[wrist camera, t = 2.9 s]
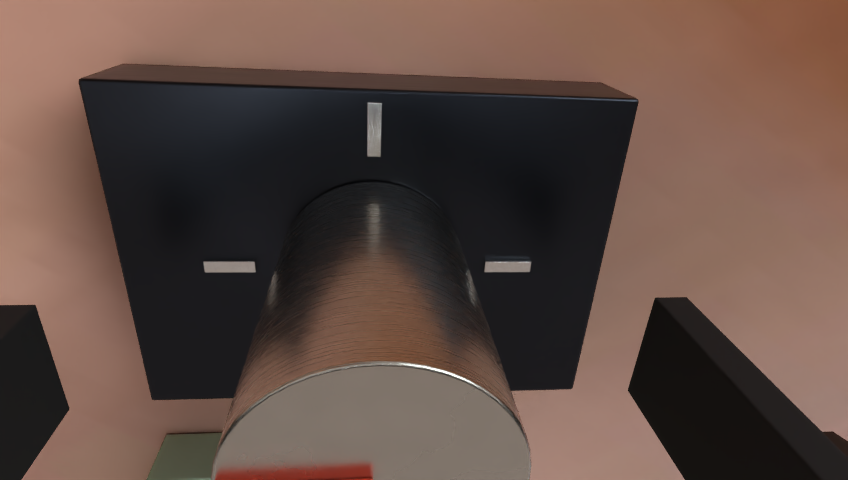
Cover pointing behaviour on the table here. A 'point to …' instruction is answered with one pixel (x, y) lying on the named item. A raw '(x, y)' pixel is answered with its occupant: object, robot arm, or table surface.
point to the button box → (185, 457)
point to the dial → (372, 355)
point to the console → (341, 165)
